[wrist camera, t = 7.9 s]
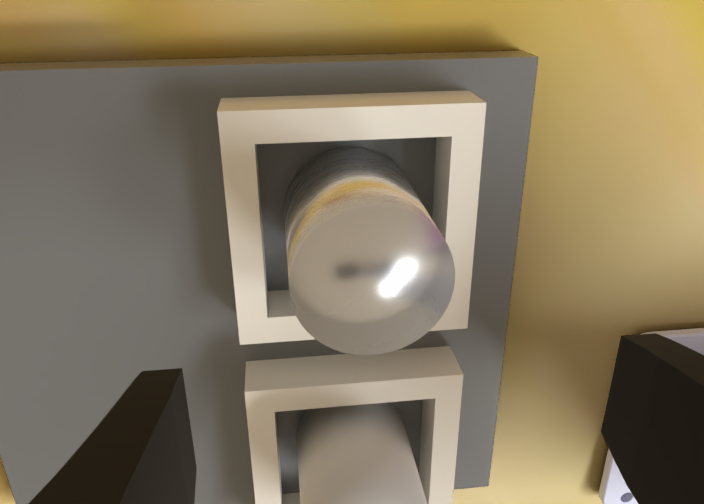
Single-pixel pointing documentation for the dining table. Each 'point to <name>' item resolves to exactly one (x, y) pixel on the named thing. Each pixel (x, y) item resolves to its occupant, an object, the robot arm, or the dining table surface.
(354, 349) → the pin
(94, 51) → the dining table surface
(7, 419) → the board
